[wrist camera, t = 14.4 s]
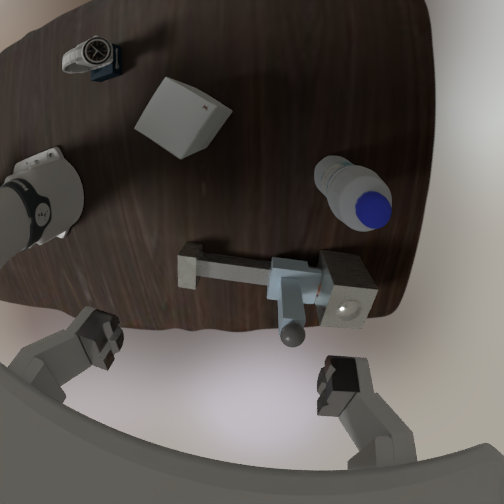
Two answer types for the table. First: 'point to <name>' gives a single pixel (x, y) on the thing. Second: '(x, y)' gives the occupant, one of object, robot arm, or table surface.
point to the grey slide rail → (330, 262)
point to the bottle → (354, 193)
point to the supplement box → (182, 118)
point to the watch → (94, 59)
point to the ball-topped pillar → (292, 296)
